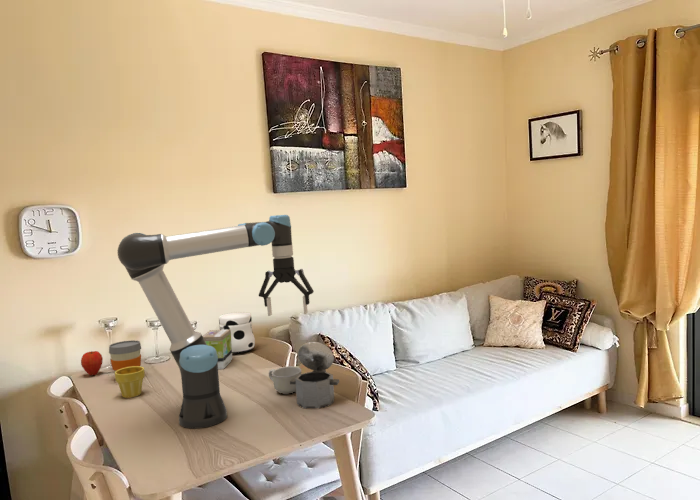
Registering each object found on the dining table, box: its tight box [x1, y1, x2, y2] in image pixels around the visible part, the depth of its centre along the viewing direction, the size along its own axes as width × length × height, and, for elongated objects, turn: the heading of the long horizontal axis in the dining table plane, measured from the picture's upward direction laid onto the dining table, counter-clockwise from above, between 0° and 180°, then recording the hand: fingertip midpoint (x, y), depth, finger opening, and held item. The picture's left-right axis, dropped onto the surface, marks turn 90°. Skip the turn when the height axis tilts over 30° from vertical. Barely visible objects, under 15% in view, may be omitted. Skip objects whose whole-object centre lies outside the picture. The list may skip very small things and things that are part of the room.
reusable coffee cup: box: [108, 339, 142, 374], centre depth 227 cm, size 13×13×15 cm
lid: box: [297, 341, 334, 371], centre depth 189 cm, size 13×13×2 cm
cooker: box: [290, 369, 340, 409], centre depth 186 cm, size 13×17×9 cm
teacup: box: [268, 365, 302, 395], centre depth 200 cm, size 14×11×8 cm
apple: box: [80, 350, 103, 376], centre depth 235 cm, size 9×8×11 cm
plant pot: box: [114, 366, 146, 399], centre depth 205 cm, size 10×10×10 cm
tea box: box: [202, 329, 233, 370], centre depth 240 cm, size 15×10×15 cm
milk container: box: [218, 311, 256, 355], centre depth 263 cm, size 17×17×18 cm
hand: (287, 314), depth 199 cm, fingers open, 13 cm apart
